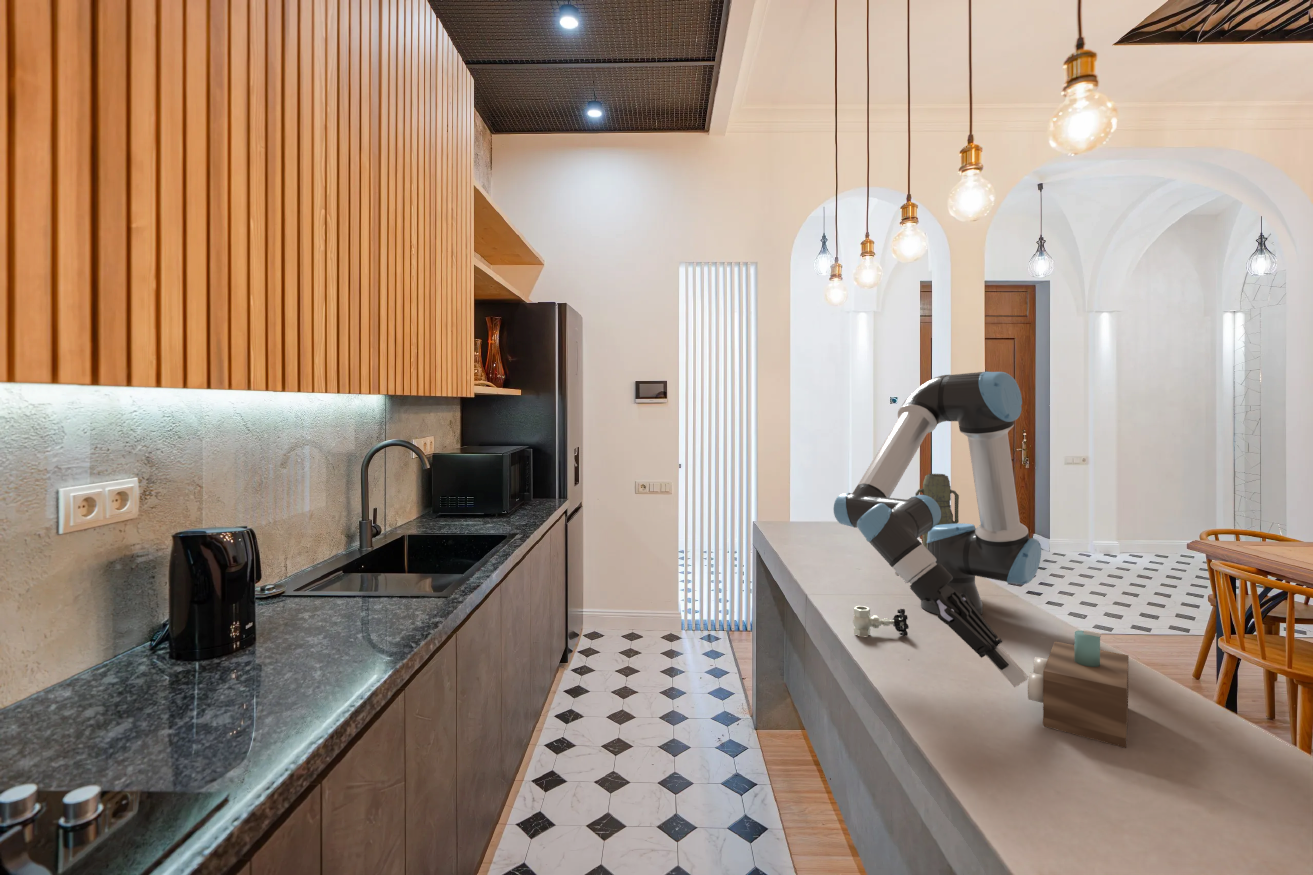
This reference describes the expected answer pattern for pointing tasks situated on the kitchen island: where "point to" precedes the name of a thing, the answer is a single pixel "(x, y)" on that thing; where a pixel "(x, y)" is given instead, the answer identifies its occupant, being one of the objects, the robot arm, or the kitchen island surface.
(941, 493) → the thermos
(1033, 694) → the knob
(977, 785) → the kitchen island surface
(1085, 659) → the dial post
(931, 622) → the kitchen island surface
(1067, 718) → the mount
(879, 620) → the valve
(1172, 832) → the kitchen island surface
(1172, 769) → the kitchen island surface
